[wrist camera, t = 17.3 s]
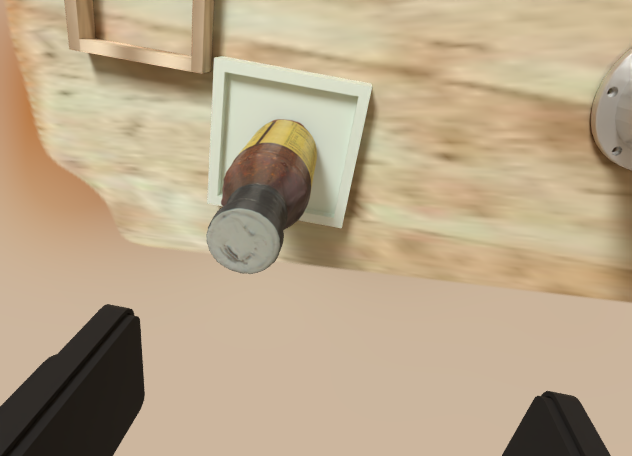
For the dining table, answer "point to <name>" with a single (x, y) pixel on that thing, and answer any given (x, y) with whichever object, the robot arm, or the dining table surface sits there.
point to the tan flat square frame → (198, 62)
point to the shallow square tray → (290, 104)
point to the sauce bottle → (263, 196)
